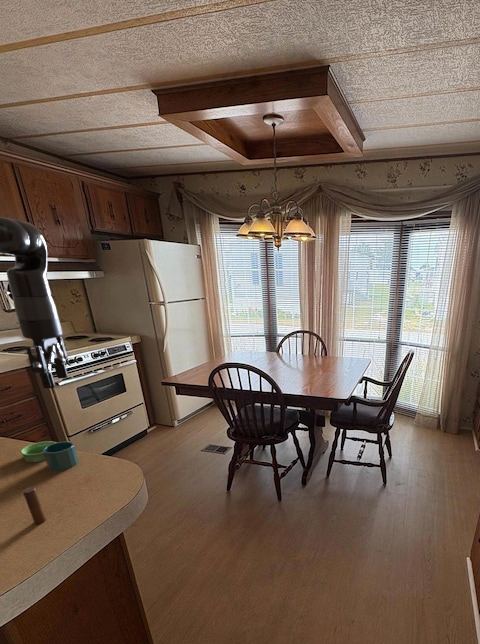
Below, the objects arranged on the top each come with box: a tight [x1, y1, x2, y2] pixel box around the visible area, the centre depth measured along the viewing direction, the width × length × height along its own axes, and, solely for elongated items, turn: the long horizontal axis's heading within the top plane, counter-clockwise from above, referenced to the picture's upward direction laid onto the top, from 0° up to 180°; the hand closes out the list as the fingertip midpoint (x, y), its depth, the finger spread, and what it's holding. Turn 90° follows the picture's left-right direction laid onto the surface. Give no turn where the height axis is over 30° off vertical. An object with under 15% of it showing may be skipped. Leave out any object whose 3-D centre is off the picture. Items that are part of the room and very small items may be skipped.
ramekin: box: [20, 440, 57, 463], centre depth 107 cm, size 9×9×4 cm
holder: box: [42, 441, 80, 472], centre depth 102 cm, size 7×7×8 cm
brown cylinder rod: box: [22, 486, 47, 525], centre depth 80 cm, size 2×2×9 cm
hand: (56, 382), depth 86 cm, fingers open, 8 cm apart
